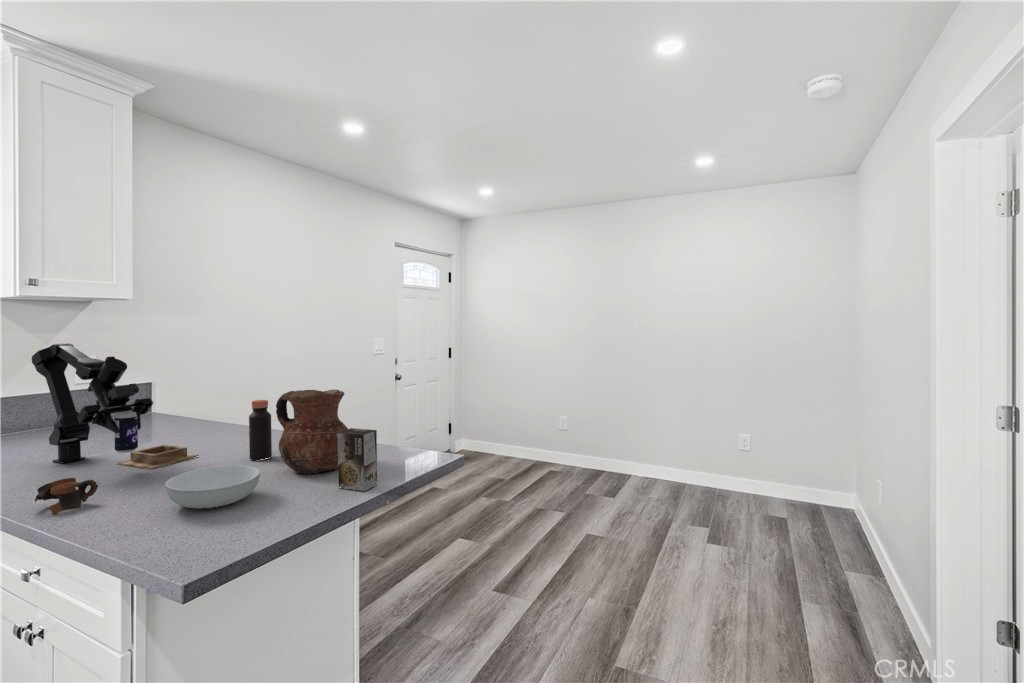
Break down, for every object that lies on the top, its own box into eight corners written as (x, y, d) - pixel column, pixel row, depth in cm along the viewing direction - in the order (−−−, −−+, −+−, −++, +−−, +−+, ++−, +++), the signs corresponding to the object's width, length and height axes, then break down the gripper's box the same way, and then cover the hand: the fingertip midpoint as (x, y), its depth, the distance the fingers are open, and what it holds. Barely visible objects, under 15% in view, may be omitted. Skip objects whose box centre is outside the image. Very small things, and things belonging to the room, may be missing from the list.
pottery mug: (35, 520, 115) (26, 488, 117) (48, 525, 123) (39, 494, 125) (98, 497, 122) (89, 467, 124) (107, 503, 130) (98, 474, 132)
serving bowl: (191, 525, 112) (191, 495, 112) (150, 507, 123) (149, 480, 123) (276, 498, 130) (276, 472, 129) (233, 484, 141) (233, 460, 140)
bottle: (275, 457, 168) (275, 400, 167) (256, 462, 162) (255, 403, 162) (264, 455, 172) (263, 398, 171) (245, 459, 166) (244, 401, 165)
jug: (343, 455, 171) (342, 385, 170) (360, 471, 153) (360, 392, 153) (274, 465, 159) (272, 389, 158) (284, 483, 141) (282, 398, 140)
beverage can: (127, 453, 149) (126, 414, 148) (109, 453, 149) (109, 414, 149) (142, 449, 154) (142, 411, 154) (125, 448, 155) (125, 411, 154)
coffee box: (378, 485, 140) (377, 429, 139) (364, 492, 134) (364, 434, 133) (351, 481, 143) (351, 427, 142) (337, 488, 137) (336, 432, 136)
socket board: (118, 464, 160) (117, 453, 160) (167, 452, 175) (167, 442, 175) (150, 469, 154) (150, 458, 154) (198, 456, 169) (198, 446, 169)
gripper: (81, 379, 144) (105, 419, 140) (149, 373, 161) (171, 409, 157) (67, 403, 147) (89, 443, 143) (134, 395, 164) (156, 430, 161)
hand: (129, 430), depth 151 cm, fingers closed on beverage can, 6 cm apart
